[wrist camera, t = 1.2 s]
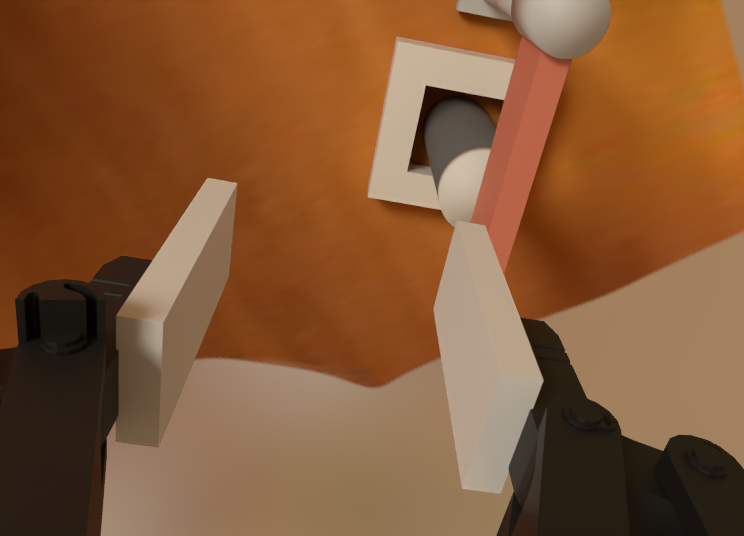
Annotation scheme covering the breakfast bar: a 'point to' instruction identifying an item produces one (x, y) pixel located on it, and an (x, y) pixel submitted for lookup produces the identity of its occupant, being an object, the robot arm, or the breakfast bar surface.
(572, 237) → the breakfast bar surface
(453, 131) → the dark grey cylinder
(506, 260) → the clip
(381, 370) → the breakfast bar surface
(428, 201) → the socket
